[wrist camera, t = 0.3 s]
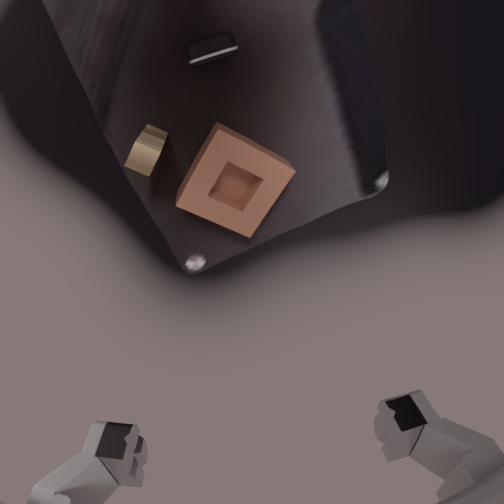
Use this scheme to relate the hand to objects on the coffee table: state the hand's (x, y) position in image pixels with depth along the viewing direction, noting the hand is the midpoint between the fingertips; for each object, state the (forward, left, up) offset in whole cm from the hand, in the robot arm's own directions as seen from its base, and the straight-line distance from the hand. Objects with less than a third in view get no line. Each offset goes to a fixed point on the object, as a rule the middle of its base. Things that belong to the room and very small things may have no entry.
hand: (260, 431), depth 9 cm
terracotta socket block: (+8, +10, -50) cm, 52 cm away
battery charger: (-10, -5, -51) cm, 52 cm away
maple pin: (+8, -6, -50) cm, 51 cm away
